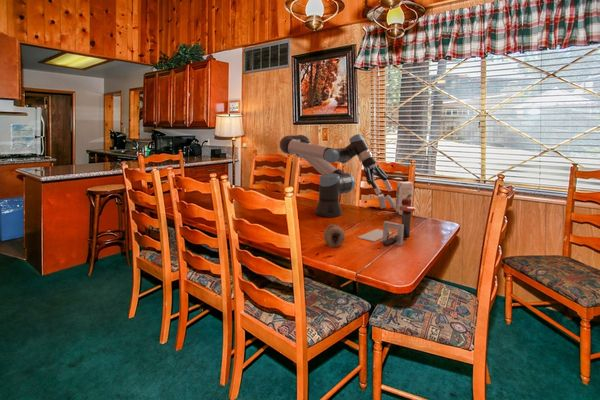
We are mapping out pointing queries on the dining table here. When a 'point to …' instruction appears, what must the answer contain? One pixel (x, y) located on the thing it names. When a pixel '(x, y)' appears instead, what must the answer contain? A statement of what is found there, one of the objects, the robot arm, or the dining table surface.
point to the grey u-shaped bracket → (399, 232)
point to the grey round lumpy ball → (334, 236)
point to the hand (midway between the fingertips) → (384, 192)
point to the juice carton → (404, 195)
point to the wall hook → (382, 201)
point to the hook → (405, 221)
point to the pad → (373, 235)
